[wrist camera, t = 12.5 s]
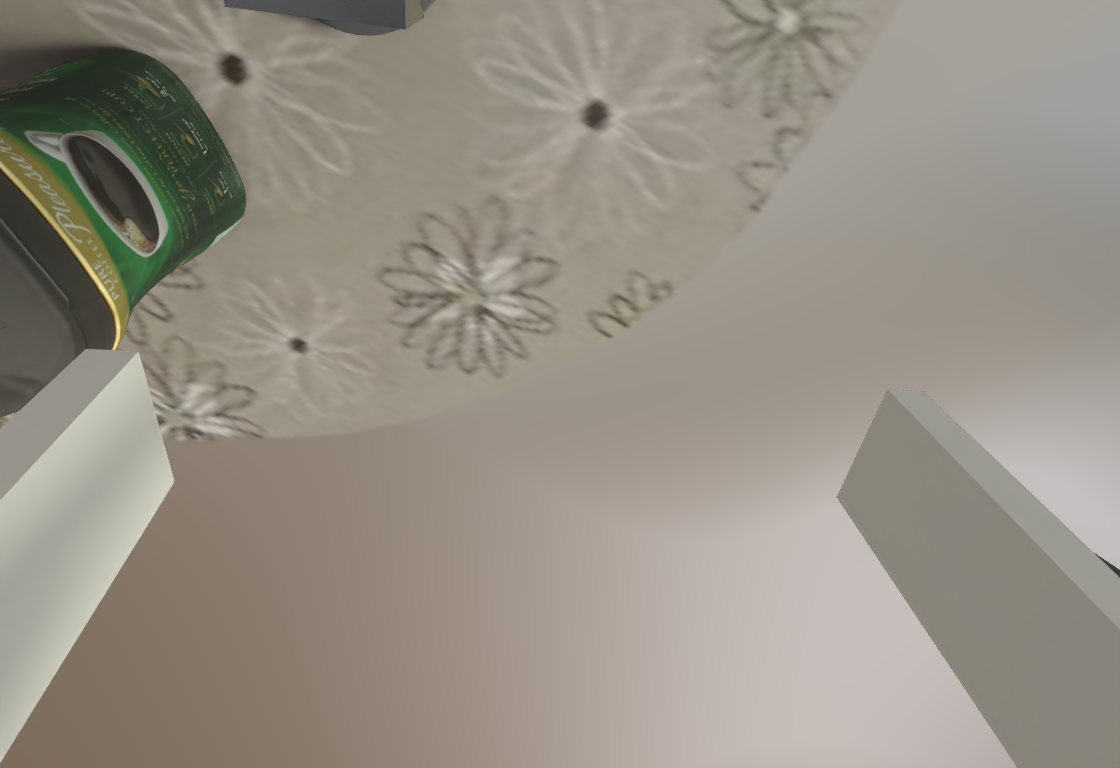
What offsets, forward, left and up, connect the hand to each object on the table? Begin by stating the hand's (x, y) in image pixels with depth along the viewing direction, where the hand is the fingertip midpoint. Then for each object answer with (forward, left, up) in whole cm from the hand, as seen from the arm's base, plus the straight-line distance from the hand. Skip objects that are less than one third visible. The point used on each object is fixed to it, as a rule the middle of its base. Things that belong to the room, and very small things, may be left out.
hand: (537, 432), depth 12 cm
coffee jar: (-18, -3, -27) cm, 33 cm away
